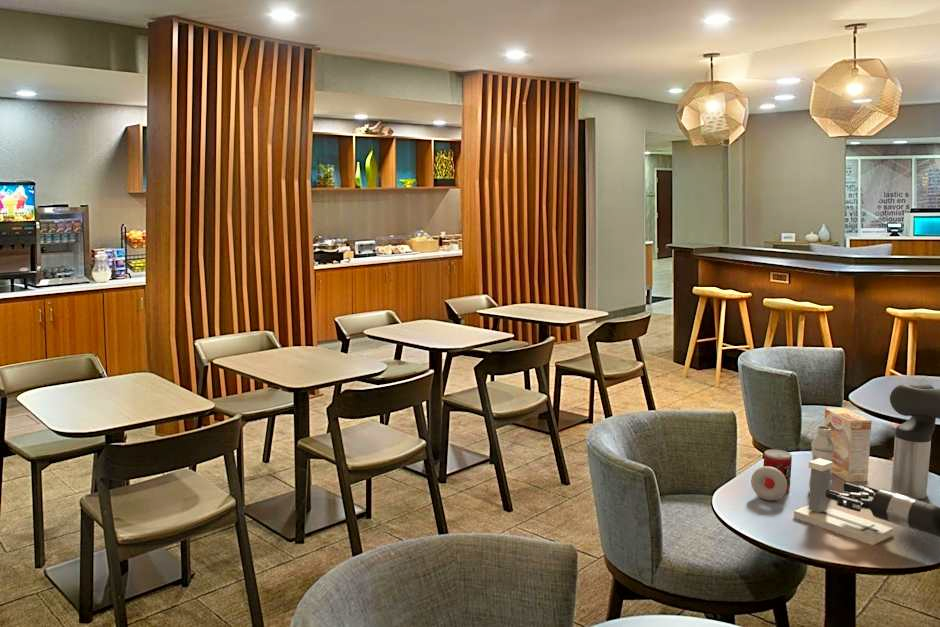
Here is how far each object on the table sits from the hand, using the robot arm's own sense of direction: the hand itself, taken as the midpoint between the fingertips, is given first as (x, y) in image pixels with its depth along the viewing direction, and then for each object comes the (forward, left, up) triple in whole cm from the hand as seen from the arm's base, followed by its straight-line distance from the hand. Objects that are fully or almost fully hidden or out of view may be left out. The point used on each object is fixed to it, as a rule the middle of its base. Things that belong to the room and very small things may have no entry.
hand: (835, 489), depth 217 cm
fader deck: (0, +2, -9) cm, 10 cm away
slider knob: (0, -5, -7) cm, 9 cm away
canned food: (-11, -25, -10) cm, 29 cm away
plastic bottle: (-18, -15, -10) cm, 25 cm away
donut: (-1, -21, -10) cm, 23 cm away
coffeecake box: (-40, -20, -10) cm, 46 cm away
